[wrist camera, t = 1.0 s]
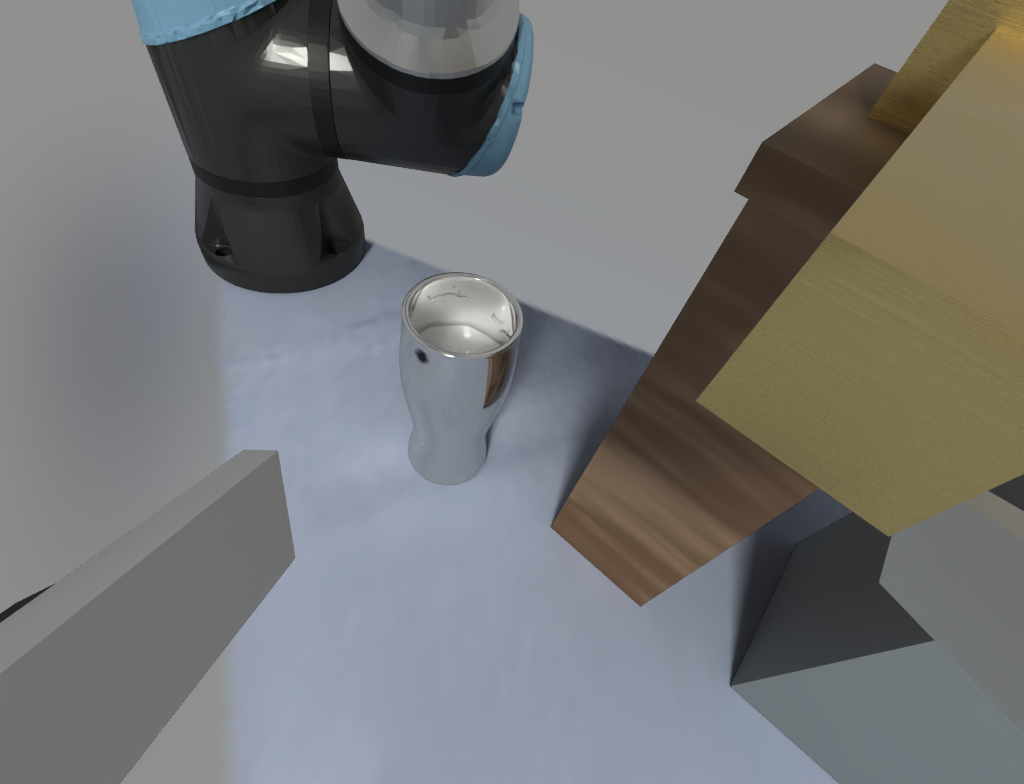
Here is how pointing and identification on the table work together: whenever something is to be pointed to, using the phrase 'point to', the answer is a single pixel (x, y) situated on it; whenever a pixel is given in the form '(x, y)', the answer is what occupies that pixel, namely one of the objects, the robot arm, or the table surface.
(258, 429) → the table surface
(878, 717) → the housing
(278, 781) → the table surface
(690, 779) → the table surface
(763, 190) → the block
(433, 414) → the beer glass
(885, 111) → the pin
